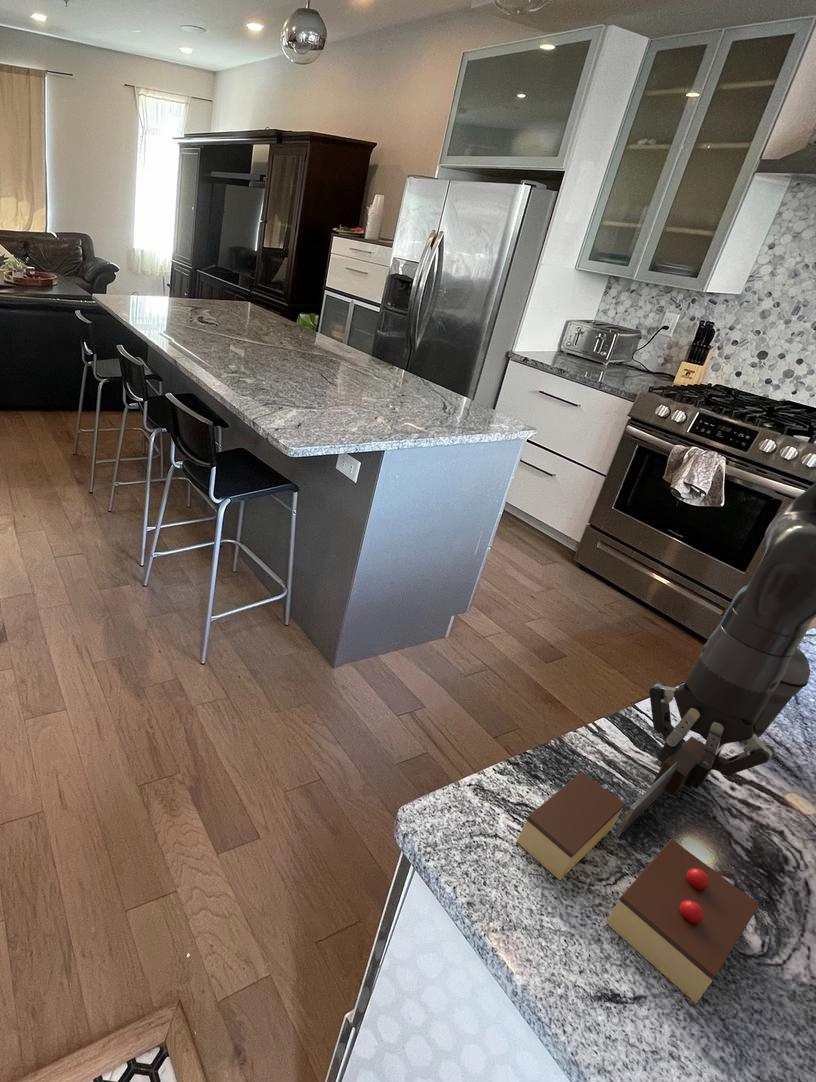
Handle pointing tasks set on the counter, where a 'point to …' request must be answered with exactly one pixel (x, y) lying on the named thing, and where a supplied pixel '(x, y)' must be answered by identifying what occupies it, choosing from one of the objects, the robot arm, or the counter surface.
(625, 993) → the counter surface
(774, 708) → the beverage cup
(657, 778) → the knife
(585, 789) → the cake slice
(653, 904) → the sheet cake
